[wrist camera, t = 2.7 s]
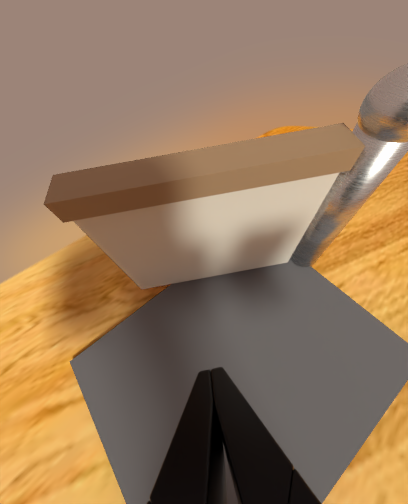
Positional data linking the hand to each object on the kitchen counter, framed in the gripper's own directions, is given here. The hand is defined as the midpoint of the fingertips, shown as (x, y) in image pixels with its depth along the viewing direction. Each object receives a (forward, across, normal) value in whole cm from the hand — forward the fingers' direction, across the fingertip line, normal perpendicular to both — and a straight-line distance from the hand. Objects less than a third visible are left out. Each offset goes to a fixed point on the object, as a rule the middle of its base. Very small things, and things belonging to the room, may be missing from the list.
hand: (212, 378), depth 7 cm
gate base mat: (+7, -2, +6) cm, 9 cm away
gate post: (+12, -10, +1) cm, 15 cm away
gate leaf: (+12, -1, 0) cm, 12 cm away
